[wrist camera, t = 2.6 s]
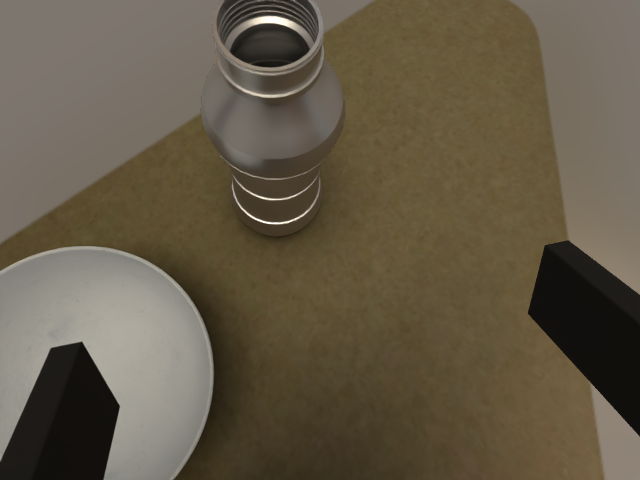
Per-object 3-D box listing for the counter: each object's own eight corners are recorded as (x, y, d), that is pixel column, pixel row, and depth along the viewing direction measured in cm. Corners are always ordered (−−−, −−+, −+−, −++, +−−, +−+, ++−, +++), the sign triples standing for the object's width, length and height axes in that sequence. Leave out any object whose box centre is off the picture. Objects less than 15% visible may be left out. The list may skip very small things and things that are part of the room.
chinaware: (153, 227, 32) (113, 195, 25) (272, 385, 30) (268, 404, 23) (-30, 353, 29) (-139, 361, 22) (90, 537, 27) (16, 615, 20)
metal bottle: (232, 168, 34) (159, -55, 14) (315, 162, 34) (355, -59, 15) (237, 246, 32) (165, 119, 13) (324, 238, 33) (380, 107, 14)
